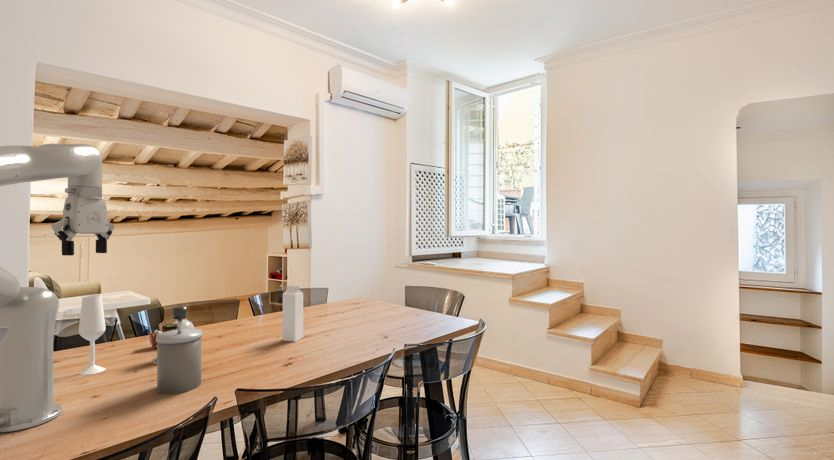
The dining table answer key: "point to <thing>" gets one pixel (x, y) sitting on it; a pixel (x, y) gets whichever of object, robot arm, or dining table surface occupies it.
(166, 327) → the condiment
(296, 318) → the milk
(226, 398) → the dining table surface
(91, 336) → the champagne flute
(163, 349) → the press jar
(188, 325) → the potion bottle
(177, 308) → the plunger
